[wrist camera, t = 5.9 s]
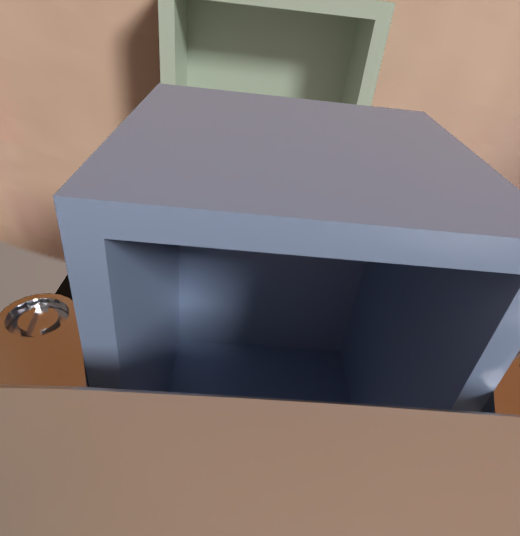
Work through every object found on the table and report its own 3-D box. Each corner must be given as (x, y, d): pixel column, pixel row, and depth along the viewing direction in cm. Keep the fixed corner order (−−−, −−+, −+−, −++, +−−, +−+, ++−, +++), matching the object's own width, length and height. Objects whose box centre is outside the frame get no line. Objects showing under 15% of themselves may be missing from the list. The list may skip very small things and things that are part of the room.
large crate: (373, -2, 22) (395, 2, 18) (328, 206, 29) (338, 240, 25) (175, -26, 21) (156, -26, 18) (177, 192, 28) (165, 225, 24)
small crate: (424, 111, 10) (587, 244, 5) (349, 351, 14) (396, 546, 10) (158, 83, 10) (52, 196, 5) (166, 338, 14) (116, 534, 9)
